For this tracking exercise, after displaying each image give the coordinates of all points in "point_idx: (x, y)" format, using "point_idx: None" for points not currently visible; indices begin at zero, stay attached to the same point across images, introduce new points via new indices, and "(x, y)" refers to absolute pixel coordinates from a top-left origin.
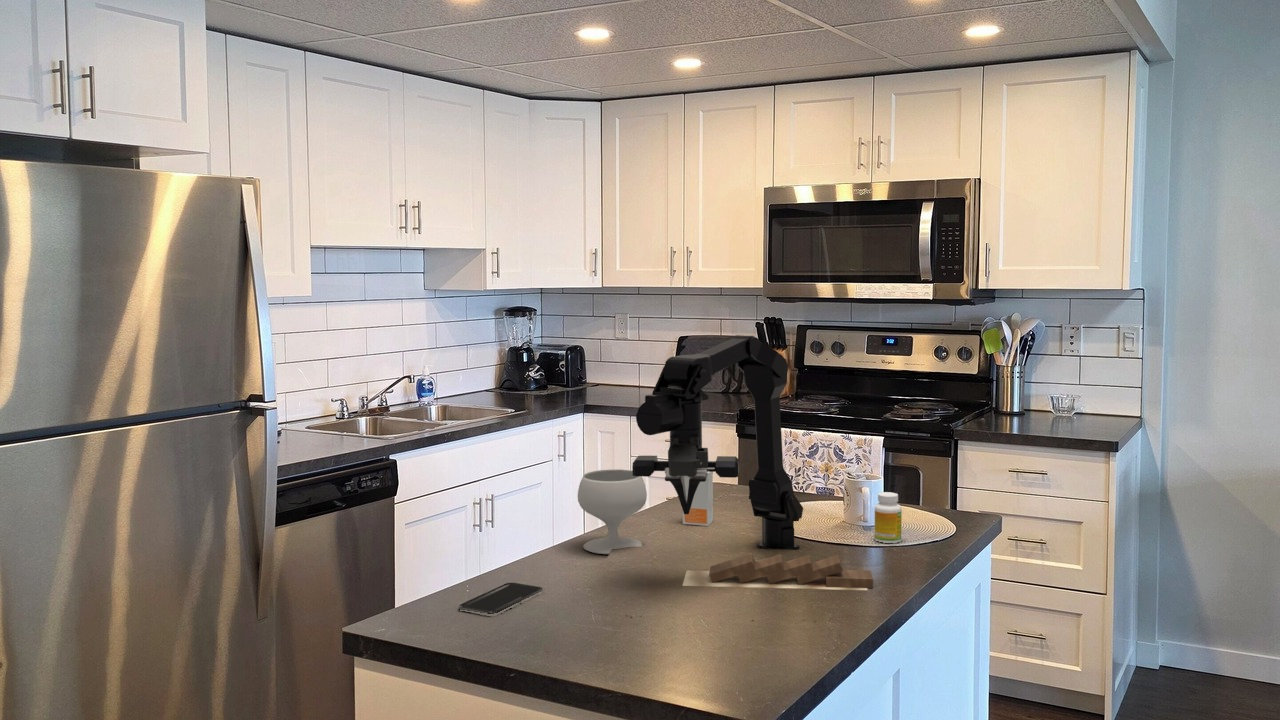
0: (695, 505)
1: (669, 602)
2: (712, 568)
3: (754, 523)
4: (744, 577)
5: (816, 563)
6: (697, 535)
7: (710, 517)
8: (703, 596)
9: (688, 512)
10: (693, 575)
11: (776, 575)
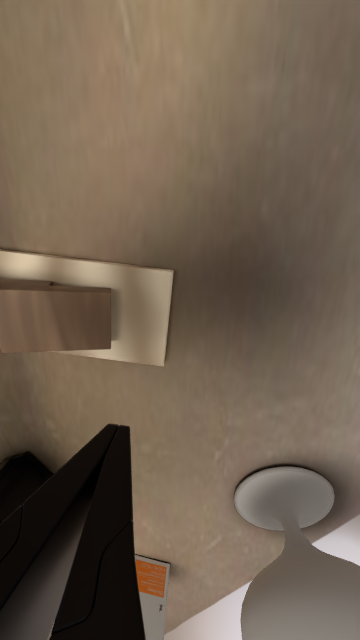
0: (146, 601)
1: (204, 190)
2: (104, 329)
3: None
4: (36, 283)
5: None
6: (149, 527)
7: None
8: (130, 233)
9: (106, 428)
10: (150, 336)
11: None
